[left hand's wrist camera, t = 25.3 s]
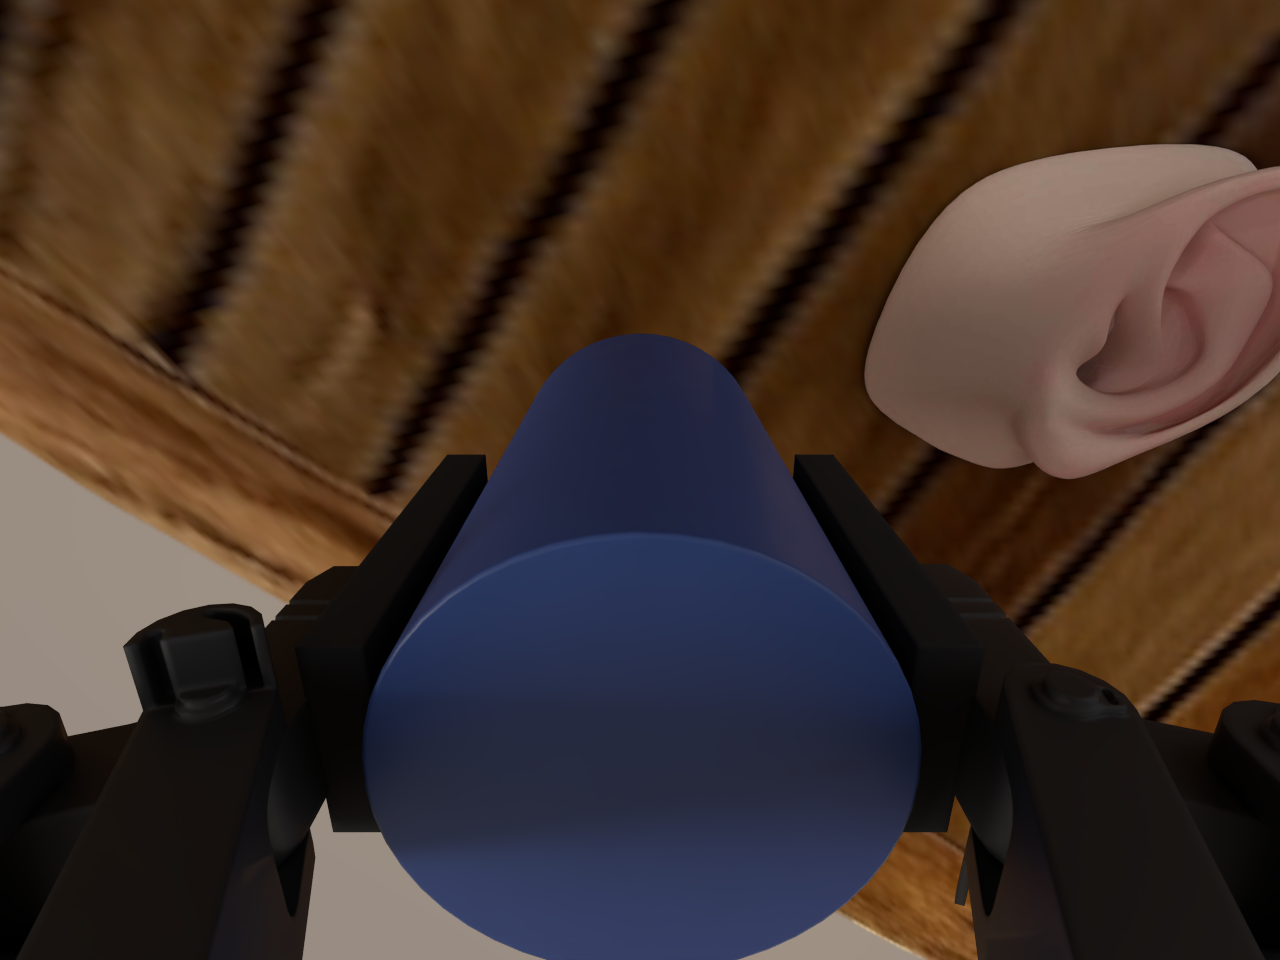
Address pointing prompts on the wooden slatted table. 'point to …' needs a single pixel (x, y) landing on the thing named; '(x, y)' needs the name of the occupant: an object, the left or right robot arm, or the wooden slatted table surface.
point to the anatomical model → (1085, 308)
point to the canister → (641, 685)
